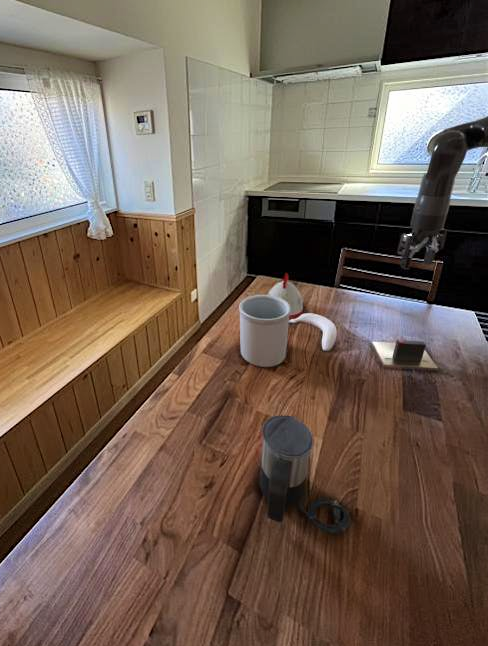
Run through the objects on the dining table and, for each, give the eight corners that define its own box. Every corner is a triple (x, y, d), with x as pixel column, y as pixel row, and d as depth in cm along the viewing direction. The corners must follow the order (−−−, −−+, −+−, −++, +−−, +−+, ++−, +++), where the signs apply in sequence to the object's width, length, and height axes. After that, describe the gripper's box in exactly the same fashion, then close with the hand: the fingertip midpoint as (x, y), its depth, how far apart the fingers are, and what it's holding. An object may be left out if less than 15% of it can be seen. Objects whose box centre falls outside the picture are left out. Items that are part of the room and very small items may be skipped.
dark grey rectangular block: (418, 358, 97) (423, 340, 95) (421, 361, 96) (426, 344, 93) (392, 356, 99) (396, 339, 96) (394, 360, 97) (399, 342, 95)
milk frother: (256, 463, 73) (259, 413, 66) (332, 468, 71) (342, 417, 65) (262, 537, 60) (267, 484, 54) (355, 546, 58) (371, 492, 52)
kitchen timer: (261, 315, 126) (263, 279, 120) (268, 298, 137) (270, 264, 131) (300, 322, 121) (304, 285, 115) (304, 303, 132) (308, 269, 126)
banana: (341, 354, 104) (292, 351, 106) (329, 323, 121) (287, 320, 124) (343, 341, 102) (293, 338, 104) (330, 311, 119) (288, 309, 122)
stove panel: (418, 349, 104) (420, 343, 103) (441, 380, 92) (443, 374, 91) (370, 346, 107) (371, 340, 106) (385, 376, 94) (387, 370, 93)
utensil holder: (228, 355, 106) (228, 307, 99) (256, 334, 115) (258, 289, 108) (268, 377, 96) (271, 326, 89) (295, 353, 105) (300, 304, 98)
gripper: (422, 217, 85) (408, 275, 91) (464, 210, 88) (447, 266, 95) (397, 211, 91) (385, 265, 98) (436, 204, 95) (423, 257, 102)
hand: (416, 266), depth 96 cm, fingers open, 8 cm apart
